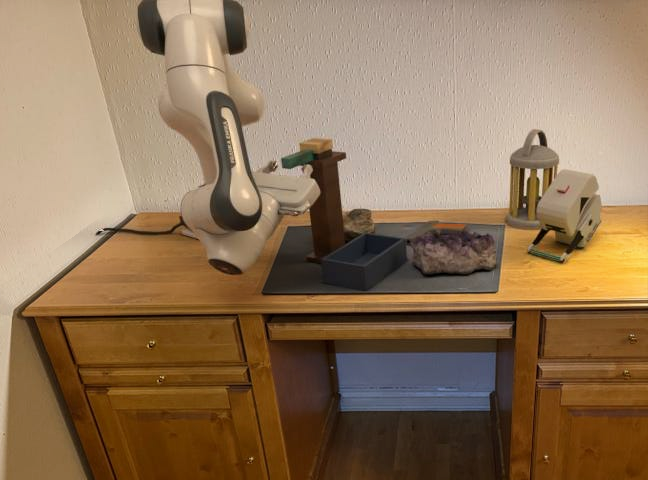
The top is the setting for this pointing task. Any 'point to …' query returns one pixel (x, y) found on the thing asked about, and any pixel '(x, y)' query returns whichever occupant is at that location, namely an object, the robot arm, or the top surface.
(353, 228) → the stone
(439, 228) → the handgun
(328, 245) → the stand
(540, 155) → the lantern
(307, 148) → the brush
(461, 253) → the geode
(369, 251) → the desk bin
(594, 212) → the robotic device
